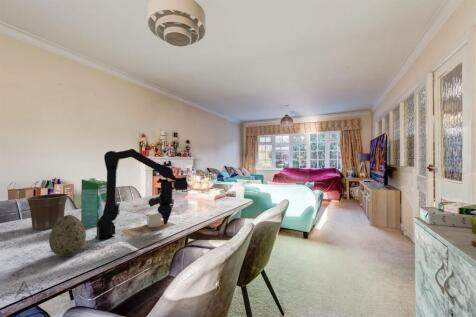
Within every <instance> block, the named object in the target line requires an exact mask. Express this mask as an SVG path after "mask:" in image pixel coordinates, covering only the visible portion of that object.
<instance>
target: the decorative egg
mask: <svg viewBox="0 0 476 317" xmlns="http://www.w3.org/2000/svg"><path fill="white" fill-rule="evenodd" d="M86 237H87V234H86V229H85V226H83V224H82V222H81V219H79V218H78V217H76V216H75V215H72V214H66V215H64V217H62V218H61V219H60V220H59V221H58V222H57V223H56V224H55V225H54V227H53V228H51V231H50V234H49V238H48V244H49V248H50V250H51V252H52V253H53V254H55V255H57V256H60V257H69V256H72V255H74V254H76V253H78V252H79V251H80V249H82V247H83V246H84V244H85V242H86Z"/></svg>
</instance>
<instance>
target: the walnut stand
mask: <svg viewBox="0 0 476 317" xmlns="http://www.w3.org/2000/svg"><path fill="white" fill-rule="evenodd" d="M175 225H177V224H176V223H173V222H170V221H168V222H167V224H164V221H163V219H161V226H158V227H148V226H147V224H143V225H140V226H135V227H132V228H129V229H126V230H125V229H124V230H121V232H122V233H124V234H126V235H129V236H131V237H133V238H135V237H138V236H143V235H145V234H148V233H149V234H150V233H152V232H156V231H159V230H162V229H166V228H169V227H172V226H175Z"/></svg>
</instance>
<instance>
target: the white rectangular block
mask: <svg viewBox="0 0 476 317" xmlns="http://www.w3.org/2000/svg"><path fill="white" fill-rule="evenodd" d="M145 216H146V225H147V226H148V227H158V226H161V221H162V219H163V217H162V214H160V213H159V212H158V210H157V211H155V210H154V211H148V212H147V213H145Z"/></svg>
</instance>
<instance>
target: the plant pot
mask: <svg viewBox="0 0 476 317" xmlns="http://www.w3.org/2000/svg"><path fill="white" fill-rule="evenodd" d="M68 196H69V194H68V193H50V194H41V195H40V194H39V195H33V196H29V197H27V198H26V200H27V203H28V207H29V211H30V212H29V213H30V219H31V227H32V230H34V231H45V230H47V229H51V230H52V229H53V227H54V225H55V224H56V223H57V222H58V221H59V220H60V219H61V218H62V217H64V216H65V213H66V212H65V211H66V203H67V198H68Z"/></svg>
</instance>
